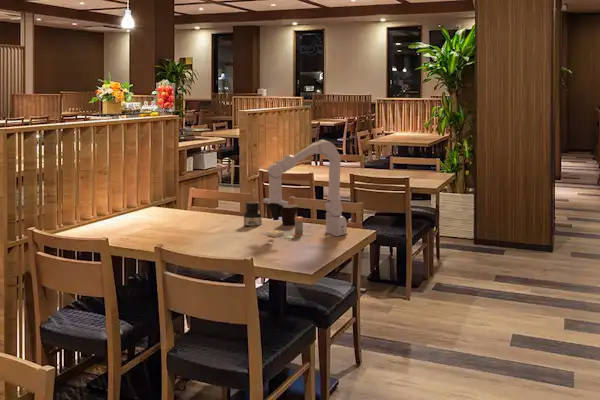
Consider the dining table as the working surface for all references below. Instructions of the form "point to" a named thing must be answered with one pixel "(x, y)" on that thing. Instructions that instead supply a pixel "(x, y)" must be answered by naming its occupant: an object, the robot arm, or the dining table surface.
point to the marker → (298, 225)
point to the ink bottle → (252, 214)
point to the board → (286, 234)
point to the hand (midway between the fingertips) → (275, 219)
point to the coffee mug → (289, 214)
